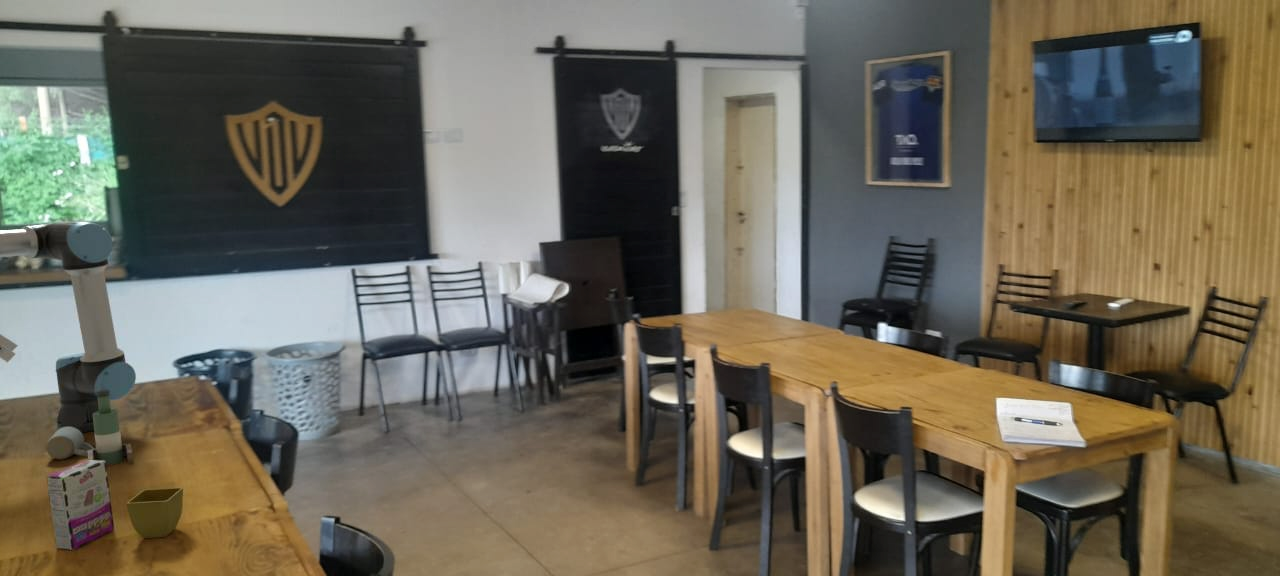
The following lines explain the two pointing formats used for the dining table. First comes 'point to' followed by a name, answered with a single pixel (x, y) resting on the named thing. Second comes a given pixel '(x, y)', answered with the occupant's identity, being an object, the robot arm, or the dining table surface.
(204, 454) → the dining table surface
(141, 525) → the flower pot
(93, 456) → the u rest
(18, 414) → the dining table surface
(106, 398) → the bottle
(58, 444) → the ceramic mug
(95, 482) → the candy bar box
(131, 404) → the dining table surface
